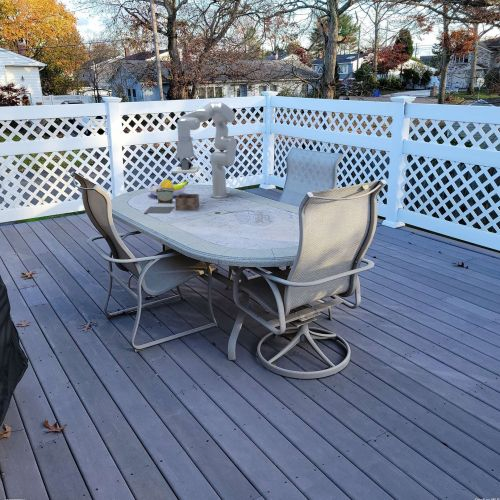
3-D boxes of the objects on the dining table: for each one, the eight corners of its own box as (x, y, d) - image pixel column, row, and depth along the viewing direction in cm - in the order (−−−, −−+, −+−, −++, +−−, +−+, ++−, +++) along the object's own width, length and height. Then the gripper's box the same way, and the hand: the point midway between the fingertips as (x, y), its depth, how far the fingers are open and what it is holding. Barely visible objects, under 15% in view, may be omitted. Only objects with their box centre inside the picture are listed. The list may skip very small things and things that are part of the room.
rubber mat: (174, 207, 316) (174, 206, 316) (169, 214, 301) (169, 213, 300) (150, 207, 317) (150, 206, 316) (144, 214, 302) (144, 212, 301)
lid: (199, 168, 313) (199, 159, 311) (196, 173, 299) (195, 163, 297) (176, 168, 314) (176, 159, 312) (172, 173, 300) (171, 163, 298)
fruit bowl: (142, 198, 341) (141, 182, 337) (160, 190, 365) (158, 175, 362) (178, 201, 333) (177, 185, 329) (194, 192, 358) (193, 177, 354)
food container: (176, 202, 331) (175, 187, 327) (174, 204, 325) (173, 189, 322) (159, 201, 332) (157, 187, 329) (156, 203, 326) (155, 189, 323)
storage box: (199, 205, 320) (198, 194, 318) (196, 210, 308) (195, 198, 305) (179, 205, 321) (179, 194, 318) (176, 210, 309) (175, 198, 306)
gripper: (198, 138, 303) (199, 167, 309) (172, 138, 304) (174, 167, 310) (196, 140, 296) (198, 169, 302) (169, 140, 297) (171, 169, 303)
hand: (186, 168), depth 306 cm, fingers closed on lid, 4 cm apart
